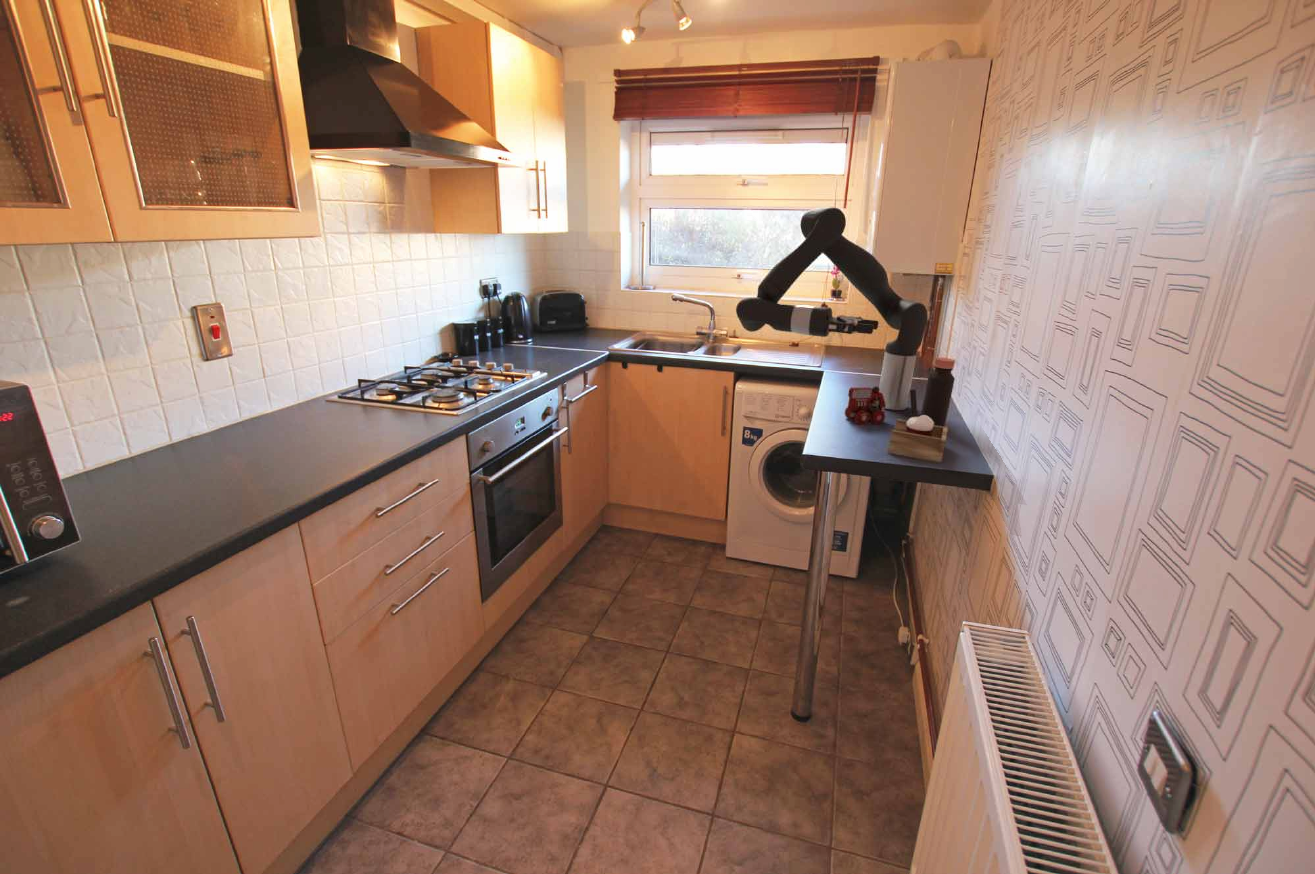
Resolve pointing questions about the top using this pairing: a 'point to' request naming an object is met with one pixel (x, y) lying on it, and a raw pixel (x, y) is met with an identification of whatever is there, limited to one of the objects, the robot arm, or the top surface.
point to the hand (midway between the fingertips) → (875, 327)
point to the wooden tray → (918, 442)
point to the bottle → (939, 391)
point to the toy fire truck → (865, 405)
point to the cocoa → (918, 420)
